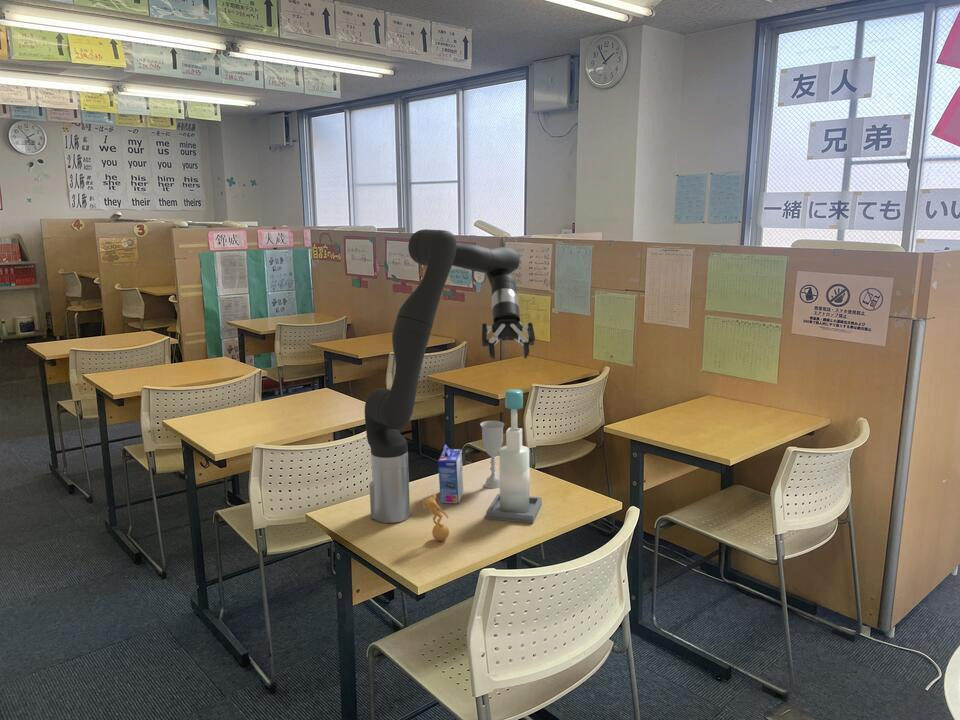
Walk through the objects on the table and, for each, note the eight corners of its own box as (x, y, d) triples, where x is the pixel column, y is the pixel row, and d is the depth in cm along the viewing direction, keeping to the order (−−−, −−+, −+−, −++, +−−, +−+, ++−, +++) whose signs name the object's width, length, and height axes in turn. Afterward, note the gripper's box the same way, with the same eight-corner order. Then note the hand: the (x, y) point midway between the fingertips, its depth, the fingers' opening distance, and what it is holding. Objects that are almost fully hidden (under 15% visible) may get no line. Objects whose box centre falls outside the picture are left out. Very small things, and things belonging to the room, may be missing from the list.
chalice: (478, 481, 202) (477, 421, 199) (501, 479, 204) (500, 419, 200) (484, 490, 195) (483, 428, 192) (508, 488, 197) (507, 426, 193)
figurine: (459, 542, 164) (457, 494, 161) (440, 551, 160) (438, 501, 157) (435, 532, 169) (434, 485, 167) (416, 540, 165) (414, 492, 163)
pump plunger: (503, 430, 175) (503, 393, 173) (507, 425, 179) (507, 389, 177) (521, 431, 174) (520, 394, 172) (524, 426, 178) (524, 389, 176)
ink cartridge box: (444, 489, 196) (443, 440, 194) (463, 490, 196) (462, 440, 193) (438, 503, 187) (437, 451, 184) (459, 504, 186) (458, 452, 183)
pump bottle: (486, 518, 177) (485, 435, 172) (497, 500, 188) (496, 422, 184) (533, 523, 174) (533, 438, 169) (541, 504, 185) (541, 424, 181)
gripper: (480, 300, 190) (483, 349, 181) (532, 299, 191) (537, 348, 182) (479, 317, 196) (482, 365, 187) (529, 316, 197) (535, 364, 188)
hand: (509, 357), depth 185 cm, fingers open, 8 cm apart
